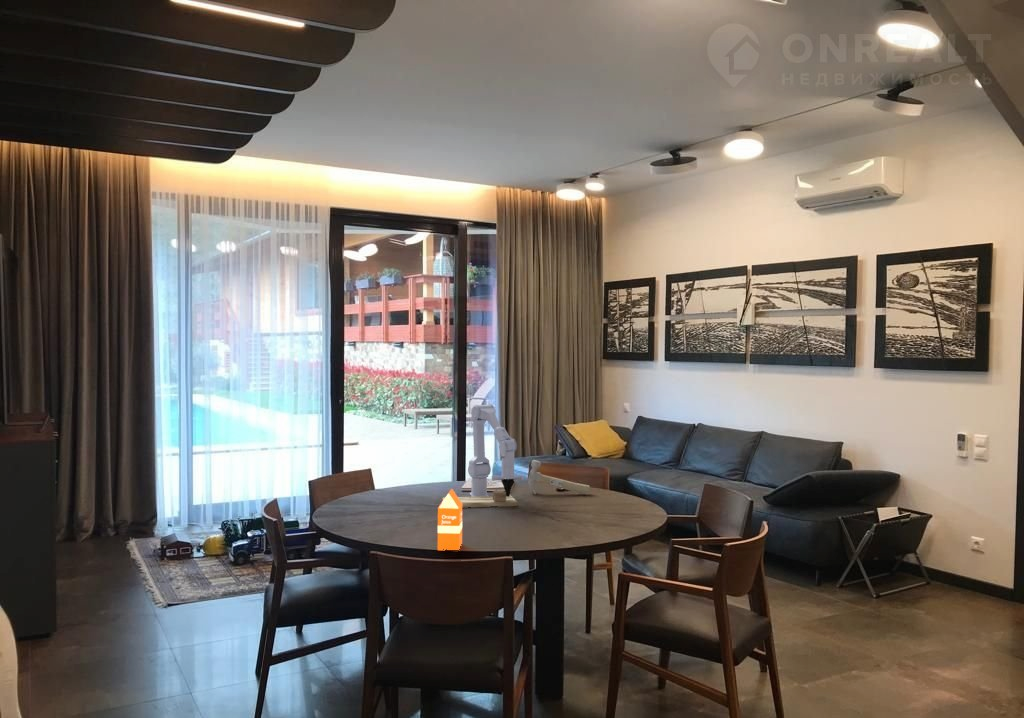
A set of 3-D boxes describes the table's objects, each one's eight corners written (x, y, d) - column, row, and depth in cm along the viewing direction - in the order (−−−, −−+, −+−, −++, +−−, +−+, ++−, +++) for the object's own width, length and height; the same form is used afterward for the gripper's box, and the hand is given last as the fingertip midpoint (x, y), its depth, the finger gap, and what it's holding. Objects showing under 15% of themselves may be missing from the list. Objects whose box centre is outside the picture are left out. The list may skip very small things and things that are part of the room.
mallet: (490, 496, 325) (490, 488, 325) (501, 496, 326) (501, 487, 326) (494, 501, 314) (495, 492, 314) (505, 501, 315) (506, 492, 315)
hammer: (592, 474, 344) (532, 459, 347) (592, 476, 340) (532, 460, 342) (584, 505, 345) (525, 490, 347) (584, 507, 340) (524, 491, 343)
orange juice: (462, 544, 252) (462, 488, 251) (459, 550, 243) (459, 493, 243) (440, 543, 252) (441, 487, 252) (436, 550, 243) (437, 492, 243)
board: (442, 501, 323) (442, 497, 323) (510, 499, 330) (510, 494, 330) (445, 508, 309) (445, 503, 309) (516, 505, 316) (517, 501, 316)
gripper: (493, 467, 313) (493, 498, 313) (525, 467, 316) (525, 497, 316) (490, 465, 319) (490, 495, 320) (521, 464, 323) (521, 494, 323)
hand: (507, 496), depth 318 cm, fingers closed
